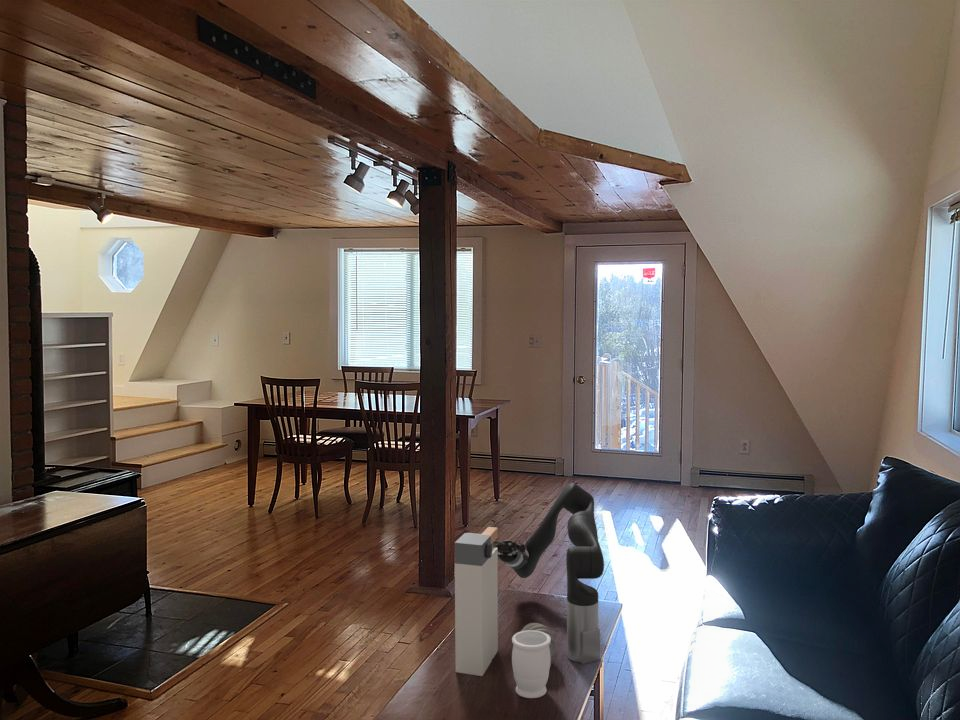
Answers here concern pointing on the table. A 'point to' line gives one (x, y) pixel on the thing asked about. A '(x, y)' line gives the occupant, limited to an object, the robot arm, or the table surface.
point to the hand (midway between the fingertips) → (499, 543)
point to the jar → (531, 662)
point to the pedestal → (475, 603)
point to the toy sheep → (546, 630)
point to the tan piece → (491, 533)
